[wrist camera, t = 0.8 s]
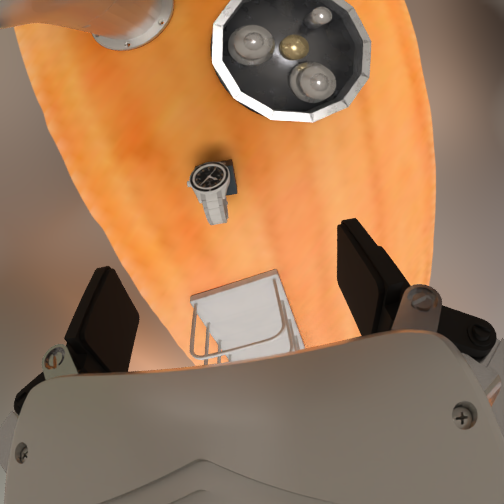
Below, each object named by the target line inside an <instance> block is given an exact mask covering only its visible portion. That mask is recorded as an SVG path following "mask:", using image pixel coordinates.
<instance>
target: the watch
mask: <svg viewBox="0 0 504 504" xmlns="http://www.w3.org/2000/svg"><path fill="white" fill-rule="evenodd" d="M187 186H188V187H192V189H193V191H194V192H195V194H196V196H197V198H198V200H199V202H200V203H202V204H203V207H204V211H205V214H206V218H207V220H208V222H209V223H210V225H215V224H221V223H227V219H228V209H227V205H228V202H227V200H226V195H232V194H237V185H236V179H235V174H234V168H233V162H232V160H227V161H221V162H207V163H204V164H201V165H199V166H195V169H194V170H193V172H192V173H191V175H190V179H189V181H187Z"/></svg>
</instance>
